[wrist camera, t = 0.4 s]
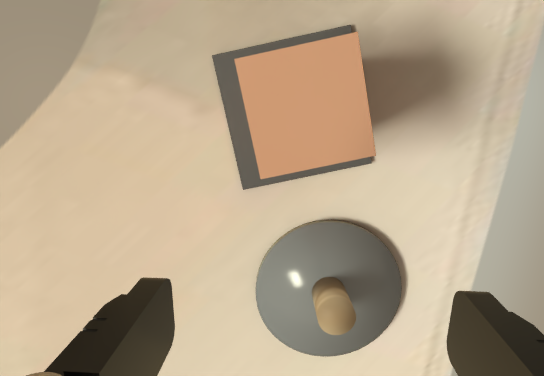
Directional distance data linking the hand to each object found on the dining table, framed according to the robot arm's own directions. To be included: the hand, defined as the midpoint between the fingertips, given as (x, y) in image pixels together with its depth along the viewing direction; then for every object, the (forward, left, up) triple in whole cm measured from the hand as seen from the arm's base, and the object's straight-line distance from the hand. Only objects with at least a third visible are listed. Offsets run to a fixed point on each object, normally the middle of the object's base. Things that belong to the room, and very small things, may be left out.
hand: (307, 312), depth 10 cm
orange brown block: (-6, -1, -20) cm, 21 cm away
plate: (+8, +7, -20) cm, 23 cm away
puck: (+8, +7, -19) cm, 22 cm away
